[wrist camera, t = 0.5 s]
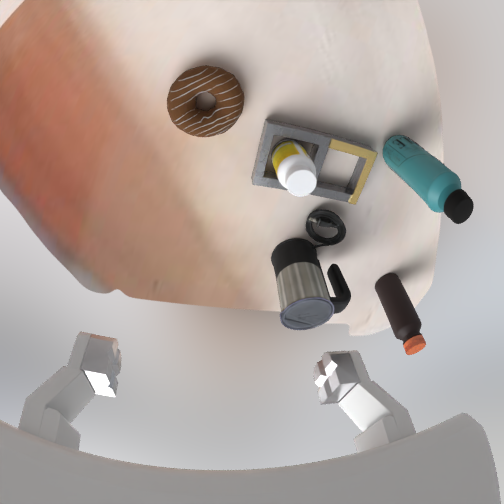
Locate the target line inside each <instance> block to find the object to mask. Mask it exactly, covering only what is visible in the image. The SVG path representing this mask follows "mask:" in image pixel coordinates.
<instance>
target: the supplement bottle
mask: <svg viewBox="0 0 504 504" xmlns="http://www.w3.org/2000/svg"><path fill="white" fill-rule="evenodd" d="M271 159H272V163H273V166H274V169H275V171H276V174H277V177H278V180H279V182H280V183H281V184H282V186H284V187H285V188H286V189H288V191H289V192H290V193H291V194H292V195H294V196H298V197H302V196H306V195H308V194H310V193H311V192H312V191H313V190H314V189H315V187H316V184H317V180H316V167H315V165H314V163H313V161H312V160H311V158H310V157H309V155H308V154H307V152H306V151H305V149H304V148H303V146H302V145H301V144H300V143H299V142H297V141H295V140H283V141H280V142H279V143H277V144H276V145H275V146H274V148H273V150H272V153H271Z"/></svg>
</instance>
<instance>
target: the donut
mask: <svg viewBox="0 0 504 504" xmlns="http://www.w3.org/2000/svg"><path fill="white" fill-rule="evenodd" d="M202 92H208V93H211V94H212V95H213V96H214V97H215V98H216V106H214V108H212V109H210V110H209V111H203V110H202V109H201V110H199V109H197V108H196V106H195V105H196V101H195V99H196V97H197V95H199V94H201V93H202ZM243 105H244V93H243V91H242V89H241V86H240V84H239V82H238V80H237V79H236V78H235V76H234V75H233V74H231V73H229V72H227V71H225V70H223V69H221V68H219V67H211V66H200V67H196V68H193V69H190V70H188V71H185V72H184V73H183V74H182V75H180V76H179V77H178V78H177V80H176V81H175V82H174V83H173V84H172V86H171V87H170V91H169V94H168V98H167V109H168V112H169V115H170V117H171V120H172V122H173V123H174V124H175V125H176V126H177V127H178V128H179V129H180V130H182V131H184V132H186V133H188V134H190V135H193V136H197V137H210V136H214V135H219V134H222V133H224V132H226V131H227V130H228V129H230V128H231V127H232V126H233V125H234V124H235V123H236V121H237V120H238V118H239V117H240V115H241V113H242V110H243Z"/></svg>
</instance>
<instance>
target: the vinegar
mask: <svg viewBox="0 0 504 504" xmlns="http://www.w3.org/2000/svg"><path fill="white" fill-rule="evenodd" d="M375 290H376V292H377V294H378V296H379V299H380V301H381V303H382V305H383V308H384V310H385V312H386V315H387V317H388V320H389V322H390V324H391V327H392V329H393V332H394V334H395V337H396V338H397V339H400V340H402V341H403V345H404V348H405V351H406V354H407V355H412V354H415V353H417V352H419V351H420V350H422V349H423V348H424V347H425V345H426V342H425V340H424V338H423V336H422V334H421V333H420V332H419V331H420V328H421V321H420V319H419V318H418V315H417V313H416V311H415V309H414V307H413V305H412V303H411V301H410V299H409V297H408V295H407V293H406V291H405V289H404V287H403V285H402V283H401V281H400V279H399V277H398V276H397V275H396V274H387V275H384V276H383V277H381V278H380V279H379V280H378V281H377V283H376V285H375Z"/></svg>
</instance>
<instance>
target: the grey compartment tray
mask: <svg viewBox="0 0 504 504" xmlns="http://www.w3.org/2000/svg"><path fill="white" fill-rule="evenodd" d="M274 135H278V136H283V137H288V138H292V139H297V140H301V141H305V142H310V143H314V144H313V147H312V151H311V154H310V158H311V160H312V161H313V163H314V165H315V167H316V180H317V179H318V176H319V173H320V171H321V168H322V165H323V162H324V159H325V156H326V154H327V151H328V148H331V149H335V150H338V151H342V152H345V153H349V154H352V155H356V156H359V160H358V162H357V165H356V167H355V170H354V172H353V175H352V177H351V179H350V182H349V184H348V187H347V188H346V187H342V186H337V185H333V184H328V183H324V182H319V181H317V184H316V187H315V189H314V190H313V191H312V192H311V193H310V194H311V195H316V196H321V197H326V198H331V199H336V200H340V201H345V202H349V203H351V204H355V205H356V202H357V200H358V198H359V196H360V194H361V191H362V189H363V187H364V184H365V182H366V180H367V178H368V175H369V173H370V170H371V168H372V166H373V163H374V161H375V158H376V156H377V154H378V153H377V152H376V151H375V150H373V149H372V148H371V147H369V146H366V145H363V144H360V143H357V142H354V141H351V140H348V139H344V138H341V137H338V136H334V135H331V134H327V133H323V132H320V131H316V130H312V129H308V128H304V127H300V126H296V125H291V124H287V123H282V122H278V121H273V120H268V119H265V123H264V127H263V132H262V136H261V140H260V144H259V148H258V152H257V156H256V160H255V165H254V169H253V173H252V177H251V178H252V184H253V185H259V186H265V187H271V188H277V189H283V190H288V189H286V188H285V187H284V186H282V184H281V183H280V182H279V180H278V177H277V174H276V173H273V172H268V171H265V167H266V163H267V159H268V155H269V151H270V147H271V144H272V140H273V136H274Z"/></svg>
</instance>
